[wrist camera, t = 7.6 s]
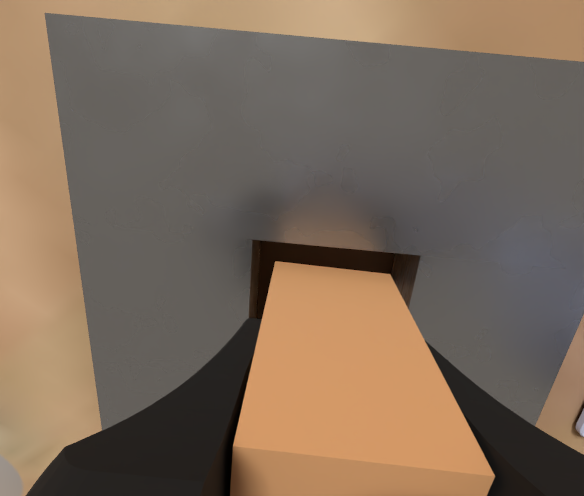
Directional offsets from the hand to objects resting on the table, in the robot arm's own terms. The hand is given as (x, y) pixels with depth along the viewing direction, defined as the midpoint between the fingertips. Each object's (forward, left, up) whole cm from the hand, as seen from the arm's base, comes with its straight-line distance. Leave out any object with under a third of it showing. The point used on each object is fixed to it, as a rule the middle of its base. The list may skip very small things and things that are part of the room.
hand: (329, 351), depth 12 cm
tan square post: (0, 0, -2) cm, 3 cm away
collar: (0, 0, -5) cm, 5 cm away
